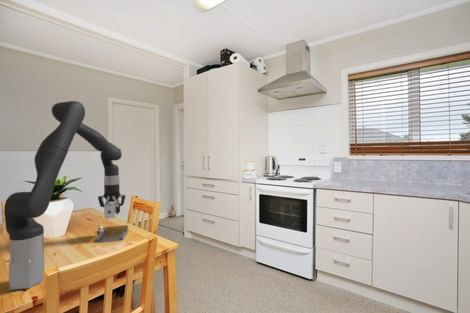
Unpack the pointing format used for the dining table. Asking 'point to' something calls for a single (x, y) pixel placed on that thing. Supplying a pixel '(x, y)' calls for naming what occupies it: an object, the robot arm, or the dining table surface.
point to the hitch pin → (100, 229)
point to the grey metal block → (110, 210)
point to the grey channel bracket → (112, 234)
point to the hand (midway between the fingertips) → (112, 213)
